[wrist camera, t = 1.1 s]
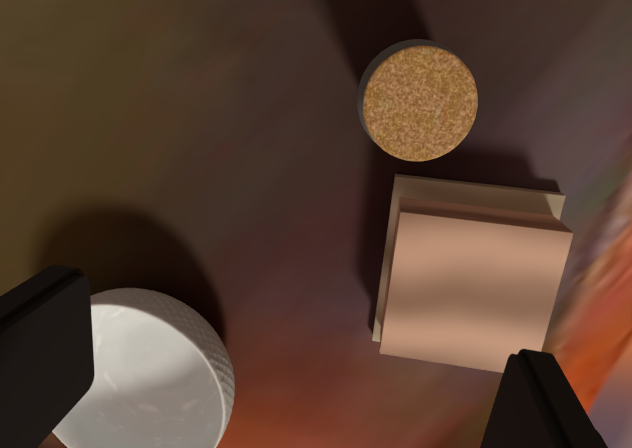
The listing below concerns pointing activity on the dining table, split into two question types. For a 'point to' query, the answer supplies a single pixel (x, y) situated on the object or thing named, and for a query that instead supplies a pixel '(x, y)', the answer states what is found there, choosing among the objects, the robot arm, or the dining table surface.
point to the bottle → (417, 100)
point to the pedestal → (469, 271)
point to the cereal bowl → (151, 377)
